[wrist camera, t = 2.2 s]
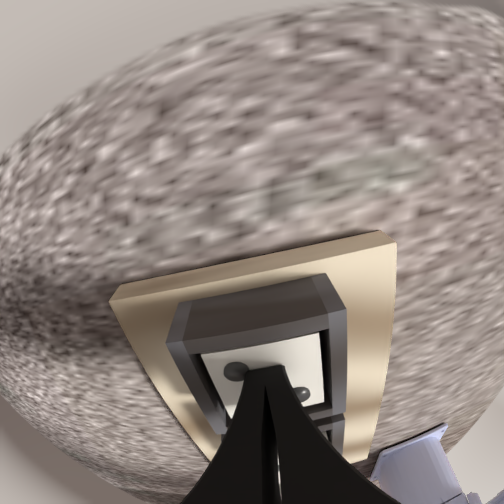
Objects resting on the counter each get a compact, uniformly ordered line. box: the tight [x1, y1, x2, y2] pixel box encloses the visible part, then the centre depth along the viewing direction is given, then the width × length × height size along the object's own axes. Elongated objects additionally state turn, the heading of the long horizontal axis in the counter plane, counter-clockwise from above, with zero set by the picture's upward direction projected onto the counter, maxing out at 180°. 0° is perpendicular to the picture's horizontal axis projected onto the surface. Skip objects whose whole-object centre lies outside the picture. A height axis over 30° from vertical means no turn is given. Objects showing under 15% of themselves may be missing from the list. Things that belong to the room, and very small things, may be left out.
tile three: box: [201, 331, 324, 418], centre depth 11 cm, size 4×4×2 cm
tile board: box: [109, 230, 397, 464], centre depth 14 cm, size 20×12×4 cm, turn 12°
